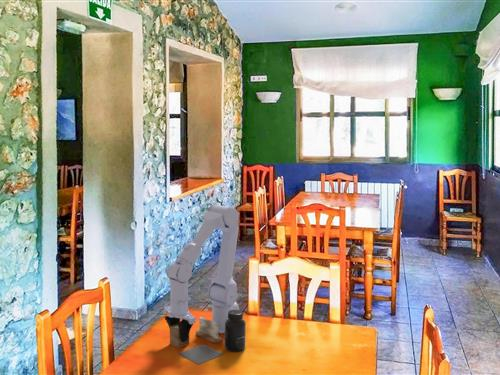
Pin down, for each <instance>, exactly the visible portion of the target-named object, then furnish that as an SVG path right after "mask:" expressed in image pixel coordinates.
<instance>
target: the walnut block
mask: <svg viewBox="0 0 500 375" xmlns="http://www.w3.org/2000/svg"><path fill="white" fill-rule="evenodd" d="M169 344H170V345H171V346H173V347H176V348H177V349H178V348H181V347H184V346H187V345H189V344H190V335H189V336H188V340H187V341H185V342H181V338H180V330H179V327H178V324H175V325H171V326H170V328H169Z"/></svg>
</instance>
